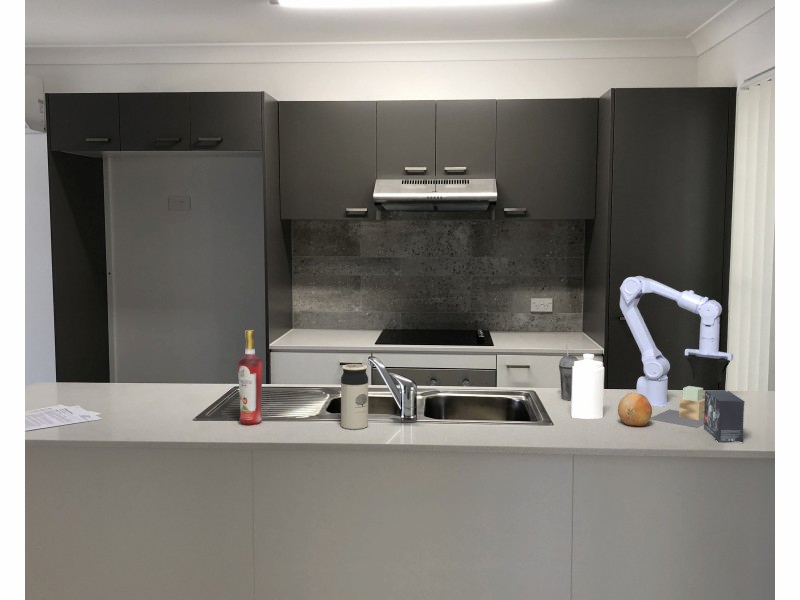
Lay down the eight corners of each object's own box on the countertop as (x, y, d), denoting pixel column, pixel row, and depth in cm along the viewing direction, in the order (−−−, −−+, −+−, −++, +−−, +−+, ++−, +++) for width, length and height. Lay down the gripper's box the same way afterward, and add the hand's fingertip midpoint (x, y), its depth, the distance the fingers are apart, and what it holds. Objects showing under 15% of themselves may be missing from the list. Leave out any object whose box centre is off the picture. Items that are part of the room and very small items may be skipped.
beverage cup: (581, 401, 244) (583, 344, 242) (560, 401, 244) (561, 343, 242) (576, 397, 251) (578, 340, 250) (555, 396, 251) (557, 340, 250)
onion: (616, 428, 210) (617, 395, 209) (618, 420, 219) (619, 388, 218) (651, 432, 207) (652, 398, 206) (651, 423, 216) (652, 391, 215)
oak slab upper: (679, 407, 223) (679, 399, 222) (686, 404, 227) (687, 396, 227) (698, 411, 219) (699, 402, 218) (705, 407, 223) (706, 399, 223)
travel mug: (337, 424, 213) (337, 364, 211) (362, 421, 216) (362, 363, 214) (346, 431, 206) (346, 369, 204) (372, 428, 209) (372, 367, 207)
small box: (702, 429, 210) (704, 389, 209) (726, 430, 209) (728, 390, 208) (717, 442, 197) (719, 399, 195) (743, 443, 196) (745, 400, 195)
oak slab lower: (678, 416, 223) (679, 407, 223) (686, 413, 227) (686, 404, 227) (698, 420, 219) (698, 411, 219) (705, 416, 223) (705, 407, 223)
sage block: (682, 399, 222) (683, 388, 222) (688, 396, 226) (688, 385, 225) (697, 401, 219) (697, 390, 219) (702, 399, 223) (703, 388, 222)
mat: (647, 420, 220) (647, 418, 220) (669, 410, 233) (669, 409, 232) (696, 429, 210) (697, 427, 210) (717, 418, 222) (717, 417, 222)
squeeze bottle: (569, 415, 225) (572, 419, 220) (571, 352, 223) (574, 355, 218) (600, 416, 225) (604, 420, 220) (602, 353, 223) (606, 356, 218)
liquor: (233, 424, 212) (232, 331, 209) (247, 419, 218) (246, 328, 216) (254, 427, 209) (253, 332, 206) (268, 421, 216) (267, 329, 213)
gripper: (681, 337, 232) (680, 378, 233) (728, 341, 222) (726, 384, 223) (690, 335, 237) (688, 375, 238) (736, 339, 227) (734, 381, 228)
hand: (707, 379), depth 231 cm, fingers open, 7 cm apart
